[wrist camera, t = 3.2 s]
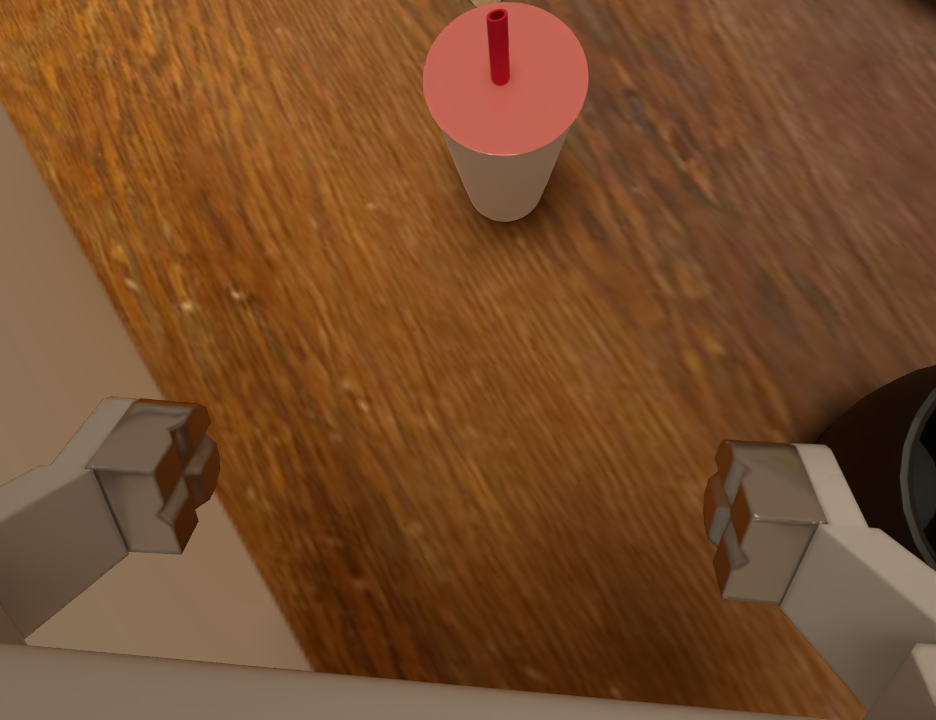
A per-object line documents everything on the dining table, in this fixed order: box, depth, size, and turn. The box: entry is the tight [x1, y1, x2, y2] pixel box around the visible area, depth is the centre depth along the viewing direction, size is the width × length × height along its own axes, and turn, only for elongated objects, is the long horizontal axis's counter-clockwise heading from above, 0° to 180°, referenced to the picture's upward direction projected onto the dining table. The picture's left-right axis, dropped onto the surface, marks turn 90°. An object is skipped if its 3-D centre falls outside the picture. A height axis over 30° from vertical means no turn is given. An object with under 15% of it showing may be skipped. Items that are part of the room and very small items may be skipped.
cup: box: [423, 2, 588, 222], centre depth 26 cm, size 5×5×12 cm
